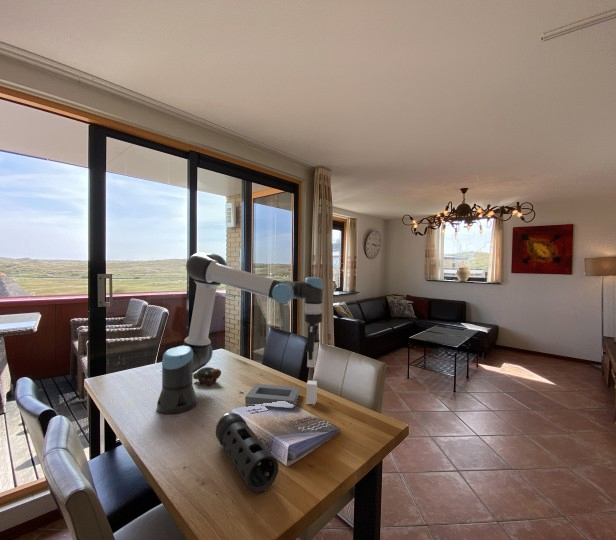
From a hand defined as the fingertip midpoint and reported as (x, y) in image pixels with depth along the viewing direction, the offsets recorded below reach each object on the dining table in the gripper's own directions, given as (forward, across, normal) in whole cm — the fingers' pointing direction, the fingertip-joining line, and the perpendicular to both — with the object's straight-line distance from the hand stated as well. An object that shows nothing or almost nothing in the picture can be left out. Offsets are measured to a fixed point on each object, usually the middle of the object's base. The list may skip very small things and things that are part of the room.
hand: (312, 361), depth 129 cm
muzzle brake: (+18, -43, +15) cm, 49 cm away
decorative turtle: (+18, +11, +54) cm, 58 cm away
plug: (+18, 0, 0) cm, 18 cm away
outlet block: (+18, 0, +17) cm, 25 cm away
